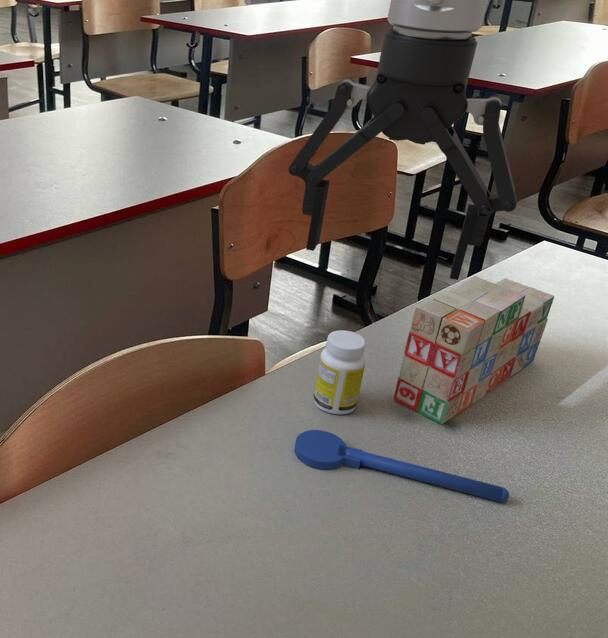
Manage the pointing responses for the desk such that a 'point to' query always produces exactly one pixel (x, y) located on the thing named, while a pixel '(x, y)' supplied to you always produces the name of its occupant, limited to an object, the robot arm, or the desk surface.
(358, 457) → the spoon
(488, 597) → the desk surface
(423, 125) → the robot arm
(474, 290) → the stack of blocks
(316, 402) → the supplement bottle
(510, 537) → the desk surface
